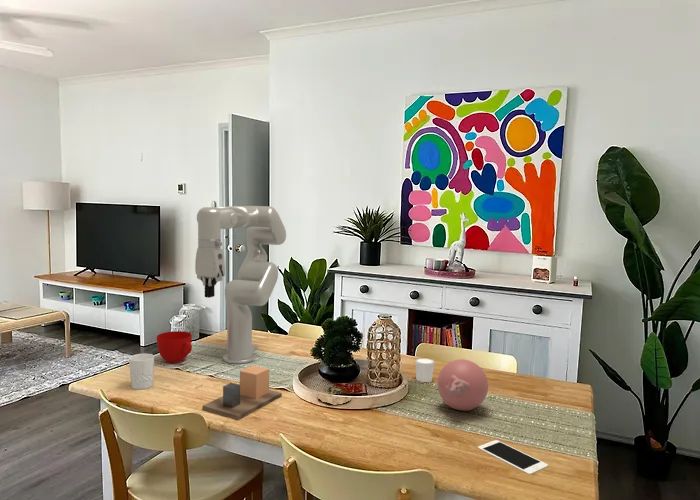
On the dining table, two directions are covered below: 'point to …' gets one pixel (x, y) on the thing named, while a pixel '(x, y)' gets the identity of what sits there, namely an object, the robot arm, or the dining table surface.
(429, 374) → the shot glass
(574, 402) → the dining table surface
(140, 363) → the white cup
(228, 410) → the walnut board
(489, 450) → the cell phone
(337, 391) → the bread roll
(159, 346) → the ceramic cup
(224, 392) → the dark post
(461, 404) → the pink stress ball
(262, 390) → the peach cube
